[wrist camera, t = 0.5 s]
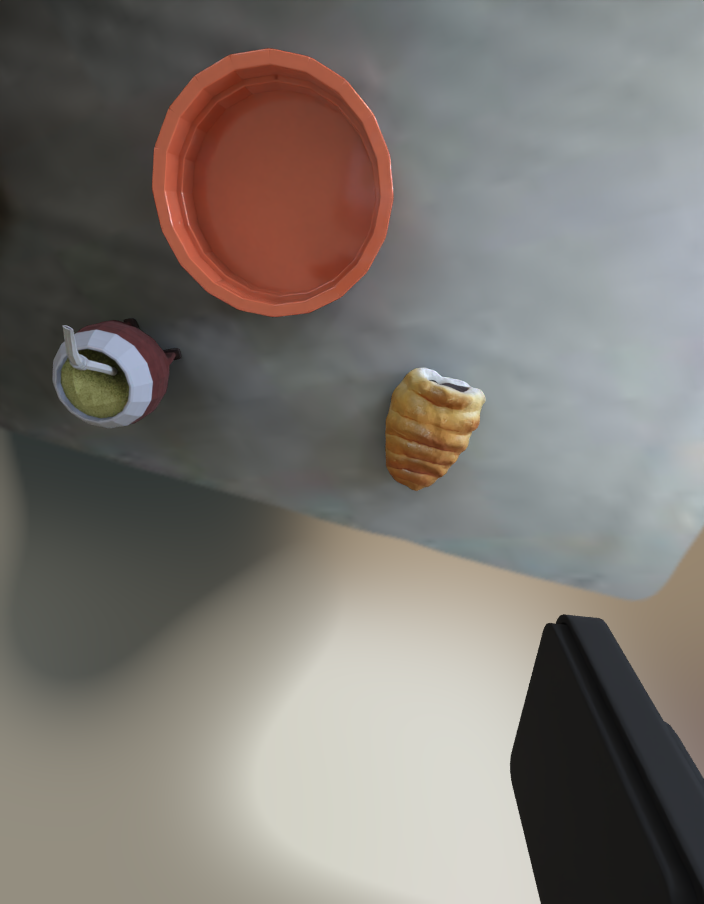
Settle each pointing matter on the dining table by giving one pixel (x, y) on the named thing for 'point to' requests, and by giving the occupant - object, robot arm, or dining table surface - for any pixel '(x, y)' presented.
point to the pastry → (429, 426)
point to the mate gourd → (111, 373)
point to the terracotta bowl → (272, 182)
